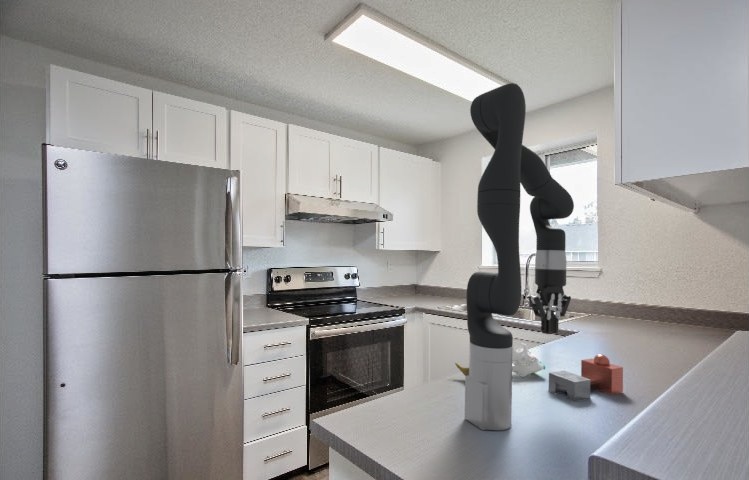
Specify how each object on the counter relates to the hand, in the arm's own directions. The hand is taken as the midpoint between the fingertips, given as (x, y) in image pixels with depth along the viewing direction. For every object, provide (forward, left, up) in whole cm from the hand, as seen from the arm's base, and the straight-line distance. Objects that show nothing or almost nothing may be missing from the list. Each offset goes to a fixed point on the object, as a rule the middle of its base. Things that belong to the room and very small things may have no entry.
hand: (549, 332), depth 98 cm
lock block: (+8, 0, -17) cm, 19 cm away
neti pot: (-10, +16, -17) cm, 26 cm away
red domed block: (+18, 0, -17) cm, 25 cm away
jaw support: (+9, +18, -17) cm, 27 cm away
